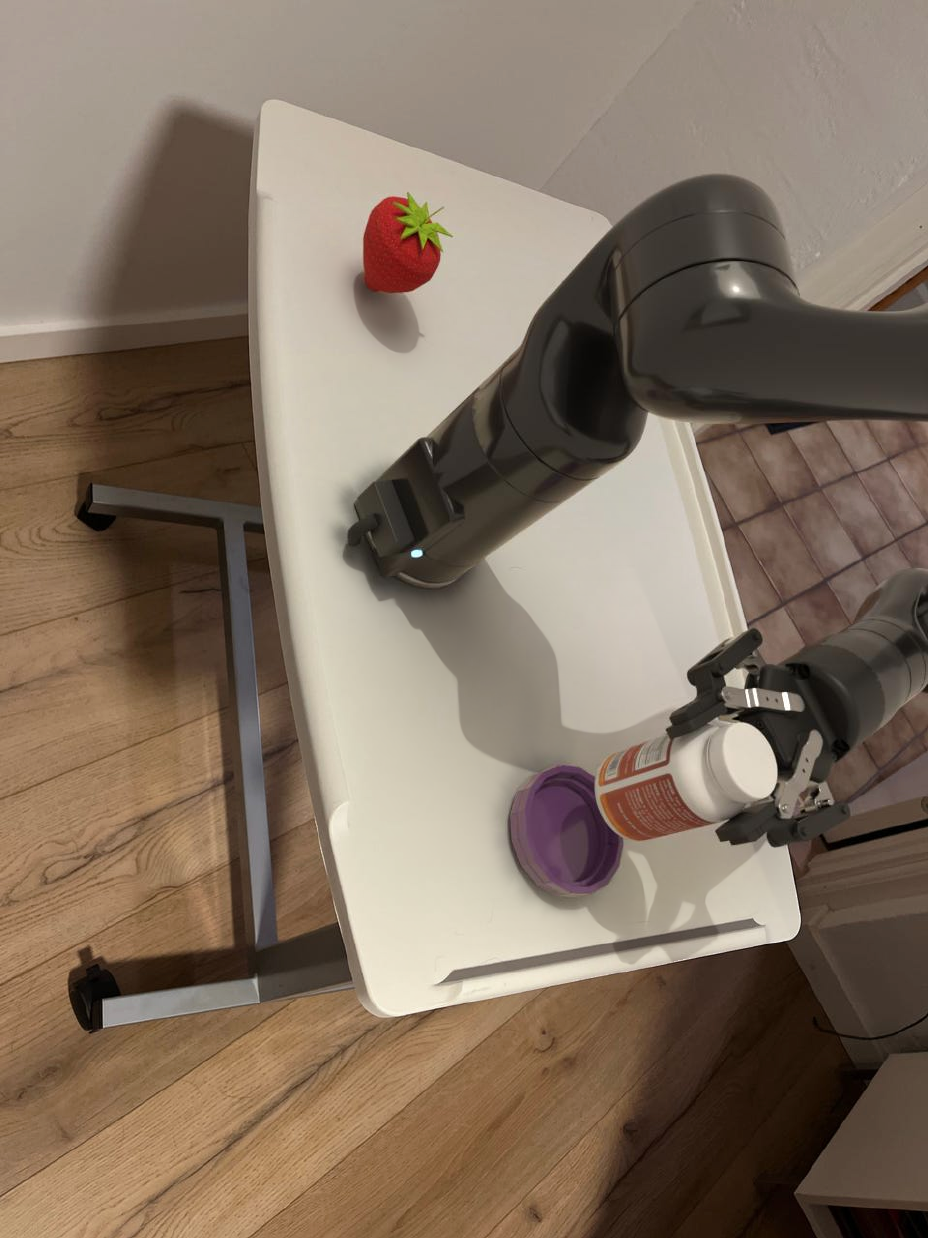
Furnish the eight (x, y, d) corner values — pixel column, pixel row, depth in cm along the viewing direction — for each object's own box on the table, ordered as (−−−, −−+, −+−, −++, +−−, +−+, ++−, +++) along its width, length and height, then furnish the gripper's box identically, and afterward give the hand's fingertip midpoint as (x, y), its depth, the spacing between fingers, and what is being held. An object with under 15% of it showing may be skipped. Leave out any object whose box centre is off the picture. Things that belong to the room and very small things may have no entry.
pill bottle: (664, 844, 63) (796, 815, 54) (596, 841, 59) (725, 810, 51) (651, 756, 65) (776, 715, 56) (585, 749, 62) (707, 704, 53)
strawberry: (389, 254, 78) (452, 169, 70) (411, 329, 76) (478, 251, 68) (329, 241, 74) (388, 150, 67) (350, 319, 72) (414, 235, 65)
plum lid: (535, 917, 62) (555, 914, 60) (488, 793, 64) (506, 786, 62) (619, 870, 68) (640, 866, 66) (574, 757, 69) (593, 750, 68)
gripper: (831, 583, 62) (695, 653, 52) (931, 774, 61) (812, 888, 50) (746, 620, 68) (607, 691, 57) (835, 796, 66) (710, 902, 56)
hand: (703, 782), depth 54 cm, fingers closed on pill bottle, 6 cm apart
